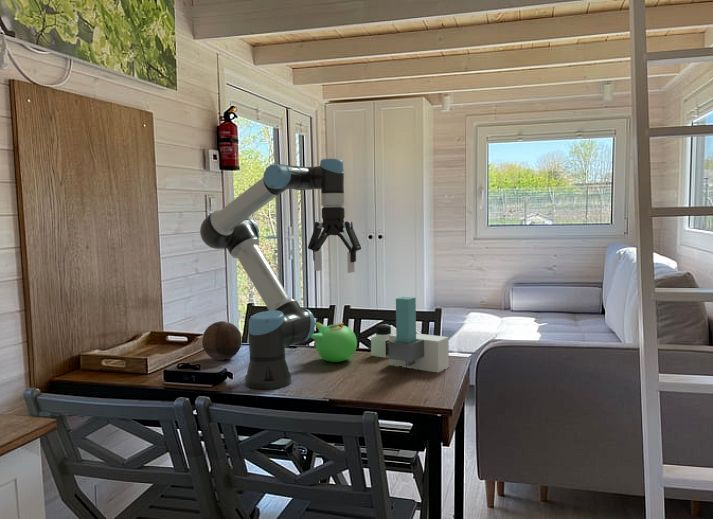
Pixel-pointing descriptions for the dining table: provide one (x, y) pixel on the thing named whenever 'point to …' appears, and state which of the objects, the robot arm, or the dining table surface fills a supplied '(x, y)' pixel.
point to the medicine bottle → (381, 341)
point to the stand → (429, 354)
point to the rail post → (406, 319)
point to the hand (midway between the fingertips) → (334, 271)
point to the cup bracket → (406, 351)
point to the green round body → (335, 342)
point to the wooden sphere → (221, 340)
